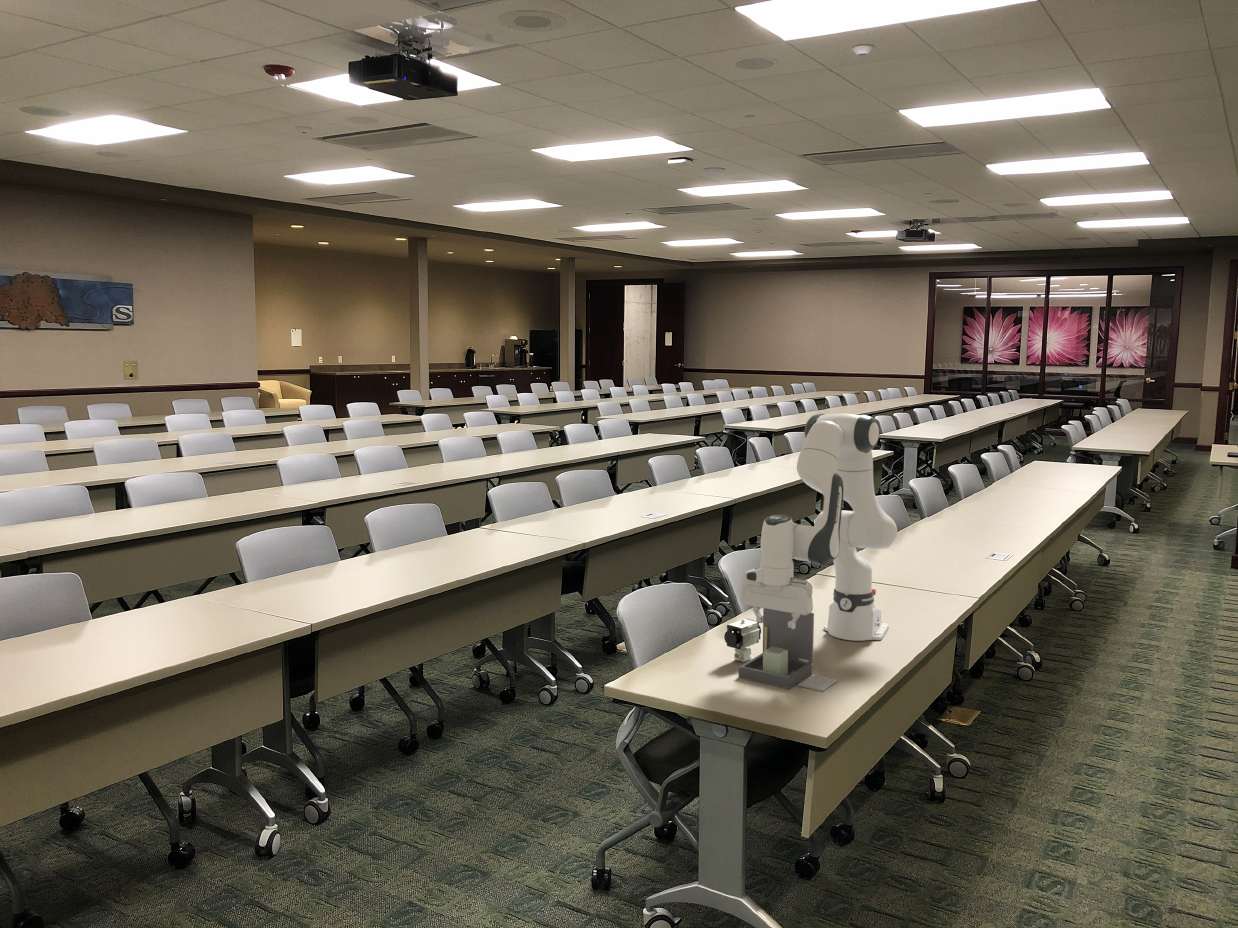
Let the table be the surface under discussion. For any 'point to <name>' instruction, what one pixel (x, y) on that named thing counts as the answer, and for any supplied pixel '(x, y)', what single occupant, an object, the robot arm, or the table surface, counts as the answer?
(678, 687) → the table surface
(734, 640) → the pneumatic valve
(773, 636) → the case
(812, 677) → the pad
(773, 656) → the block
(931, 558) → the table surface
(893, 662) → the table surface
